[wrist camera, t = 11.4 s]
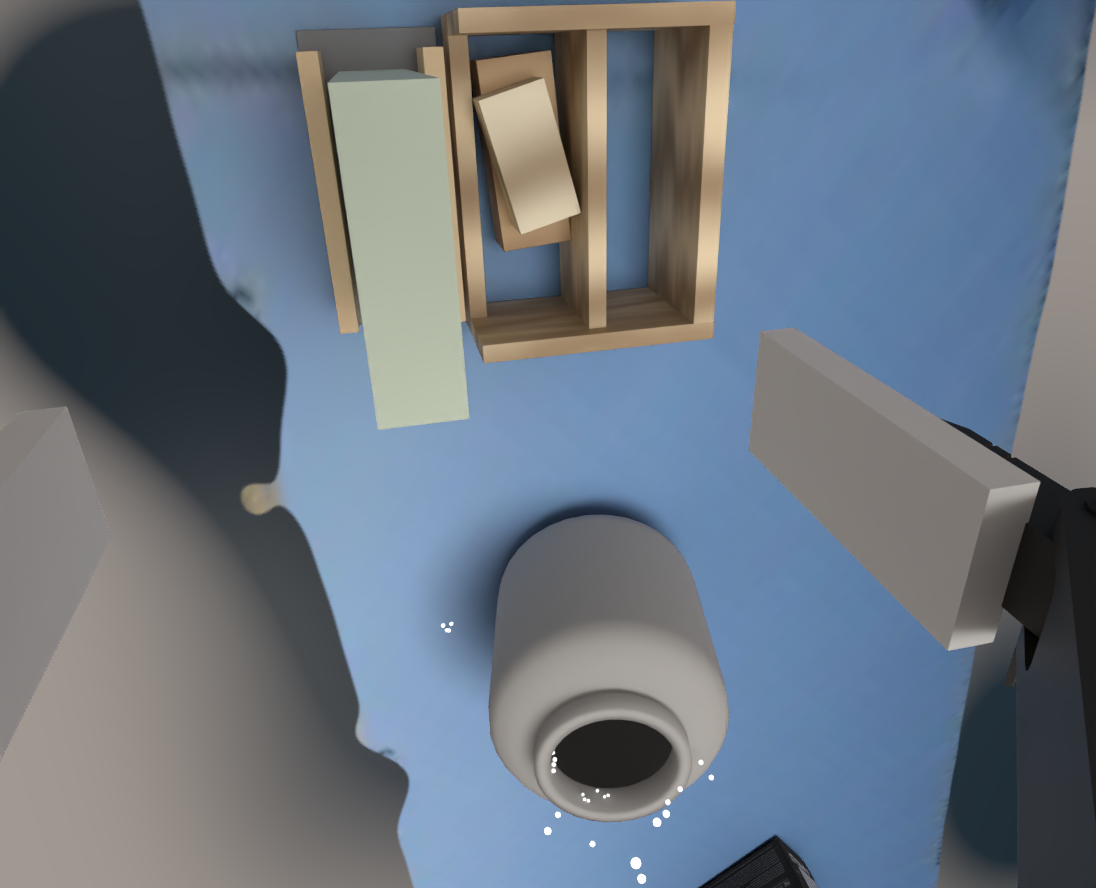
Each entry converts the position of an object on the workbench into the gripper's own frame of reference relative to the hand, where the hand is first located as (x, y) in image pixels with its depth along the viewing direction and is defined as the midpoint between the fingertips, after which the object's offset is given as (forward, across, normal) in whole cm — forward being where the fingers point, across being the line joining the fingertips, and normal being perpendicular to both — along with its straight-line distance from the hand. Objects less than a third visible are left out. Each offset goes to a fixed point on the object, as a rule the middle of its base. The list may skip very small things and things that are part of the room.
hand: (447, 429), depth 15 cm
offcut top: (+31, +8, +1) cm, 32 cm away
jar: (+34, +9, -30) cm, 47 cm away
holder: (+34, 0, 0) cm, 34 cm away
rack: (+34, +11, 0) cm, 36 cm away
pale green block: (+34, 0, 0) cm, 34 cm away
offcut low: (+34, +8, +1) cm, 35 cm away
